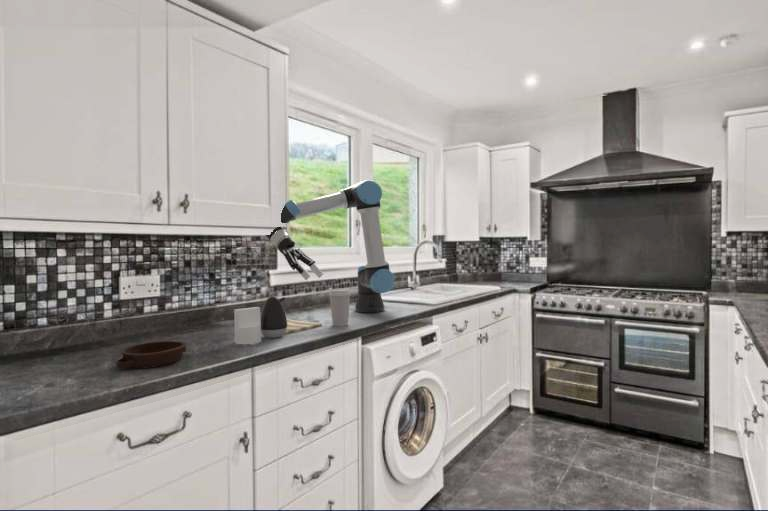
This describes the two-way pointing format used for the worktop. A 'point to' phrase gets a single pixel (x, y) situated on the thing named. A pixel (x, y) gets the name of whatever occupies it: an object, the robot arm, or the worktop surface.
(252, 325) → the grey square canister
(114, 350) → the worktop surface
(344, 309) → the coffee cup
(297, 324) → the birch board
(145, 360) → the dish
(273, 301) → the dark egg shaped speaker
